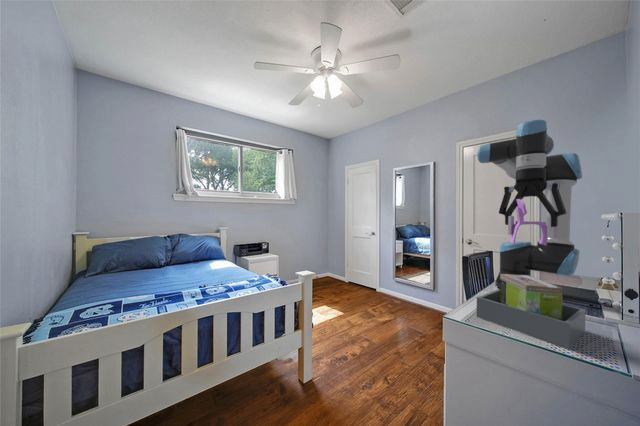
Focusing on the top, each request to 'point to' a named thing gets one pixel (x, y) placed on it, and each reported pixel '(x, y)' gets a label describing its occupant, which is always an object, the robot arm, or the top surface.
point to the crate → (533, 320)
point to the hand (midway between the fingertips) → (529, 235)
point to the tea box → (531, 295)
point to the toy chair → (520, 216)
